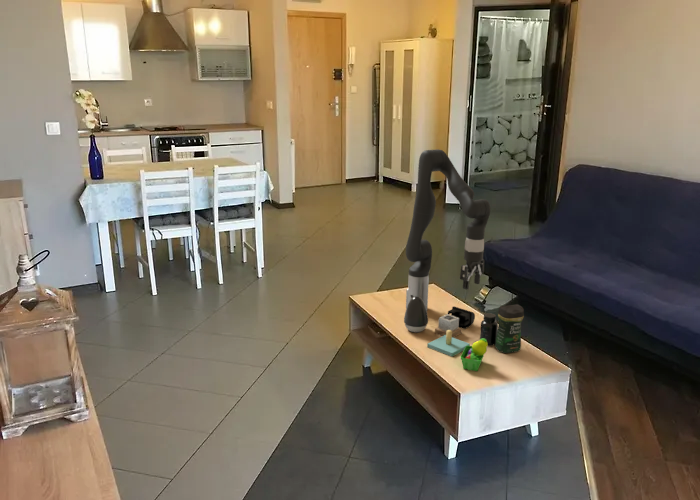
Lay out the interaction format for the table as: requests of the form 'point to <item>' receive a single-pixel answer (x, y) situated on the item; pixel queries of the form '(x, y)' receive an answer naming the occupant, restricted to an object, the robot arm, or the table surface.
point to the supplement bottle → (489, 328)
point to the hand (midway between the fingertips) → (471, 286)
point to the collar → (448, 323)
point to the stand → (442, 333)
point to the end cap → (463, 316)
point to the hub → (448, 344)
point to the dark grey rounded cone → (416, 315)
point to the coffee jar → (509, 328)
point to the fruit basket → (474, 355)
